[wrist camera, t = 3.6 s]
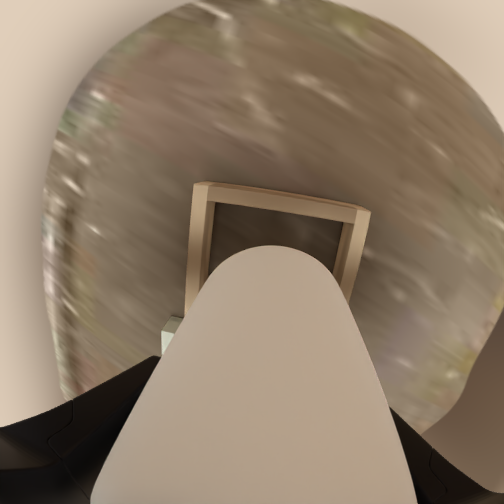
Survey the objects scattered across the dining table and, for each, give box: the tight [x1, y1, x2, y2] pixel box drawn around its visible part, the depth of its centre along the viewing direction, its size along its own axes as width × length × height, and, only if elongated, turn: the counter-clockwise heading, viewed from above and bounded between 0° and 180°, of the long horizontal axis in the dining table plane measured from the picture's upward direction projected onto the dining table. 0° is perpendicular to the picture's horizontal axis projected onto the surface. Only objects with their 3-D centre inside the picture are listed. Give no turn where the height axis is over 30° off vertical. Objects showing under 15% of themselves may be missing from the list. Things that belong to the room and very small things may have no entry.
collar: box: [184, 181, 371, 317], centre depth 18 cm, size 10×10×2 cm
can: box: [90, 246, 418, 504], centre depth 8 cm, size 6×6×12 cm
